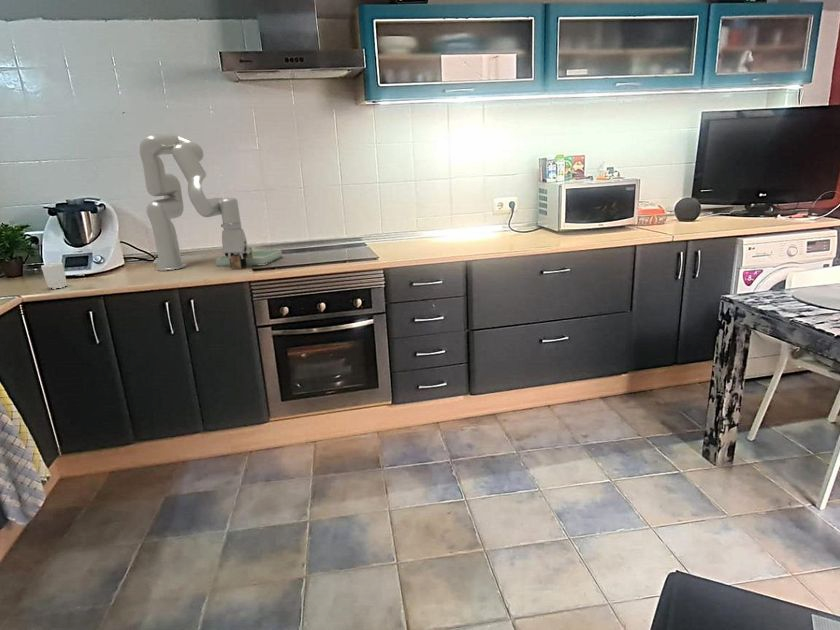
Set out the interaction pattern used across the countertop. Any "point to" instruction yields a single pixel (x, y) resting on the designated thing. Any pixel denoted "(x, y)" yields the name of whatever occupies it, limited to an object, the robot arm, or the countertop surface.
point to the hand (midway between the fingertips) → (238, 266)
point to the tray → (258, 258)
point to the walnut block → (249, 254)
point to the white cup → (54, 274)
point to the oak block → (235, 261)
